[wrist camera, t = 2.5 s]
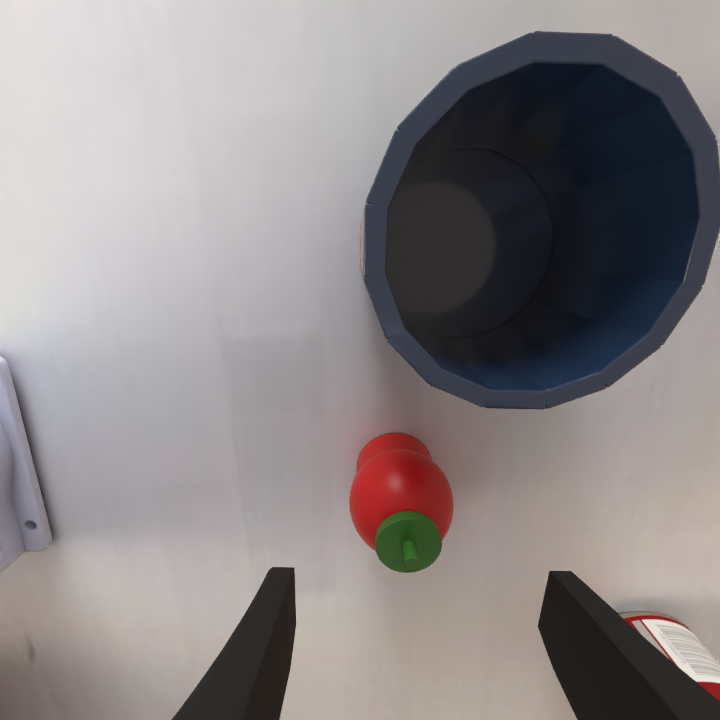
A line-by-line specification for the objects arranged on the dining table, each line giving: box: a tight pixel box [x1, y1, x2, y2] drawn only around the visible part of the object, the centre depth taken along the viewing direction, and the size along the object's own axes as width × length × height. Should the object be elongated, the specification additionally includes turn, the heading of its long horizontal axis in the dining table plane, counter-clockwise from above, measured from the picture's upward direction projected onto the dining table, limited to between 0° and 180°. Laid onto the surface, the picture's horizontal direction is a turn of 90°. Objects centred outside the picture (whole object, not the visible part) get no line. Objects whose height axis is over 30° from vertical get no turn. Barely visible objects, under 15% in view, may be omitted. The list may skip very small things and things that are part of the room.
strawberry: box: [349, 433, 453, 573], centre depth 14 cm, size 4×4×6 cm
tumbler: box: [360, 31, 720, 409], centre depth 11 cm, size 8×8×6 cm
